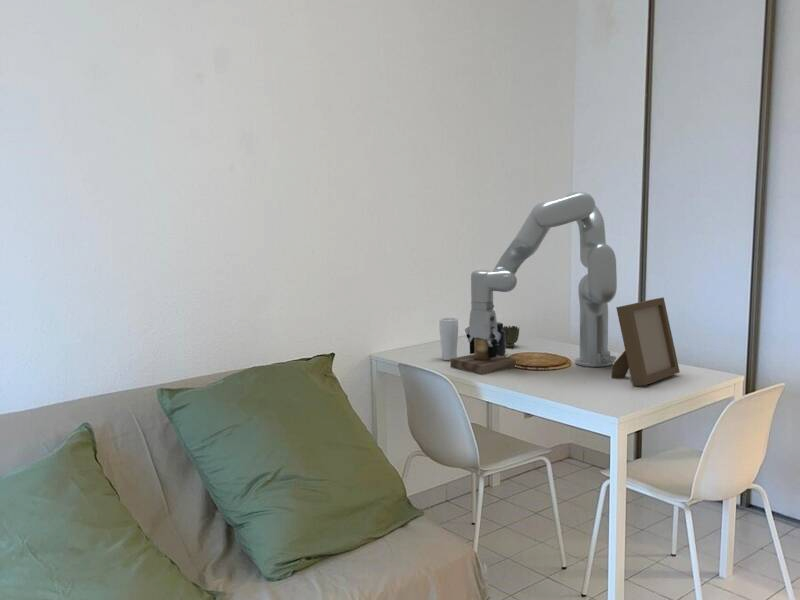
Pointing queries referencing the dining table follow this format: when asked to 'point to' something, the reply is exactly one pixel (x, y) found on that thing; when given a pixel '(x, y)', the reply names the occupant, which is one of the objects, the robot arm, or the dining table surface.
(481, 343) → the tan translucent cylinder
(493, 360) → the walnut socket block
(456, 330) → the drinking glass
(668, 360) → the photo frame
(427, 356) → the dining table surface
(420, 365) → the dining table surface
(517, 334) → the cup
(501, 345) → the supplement bottle
